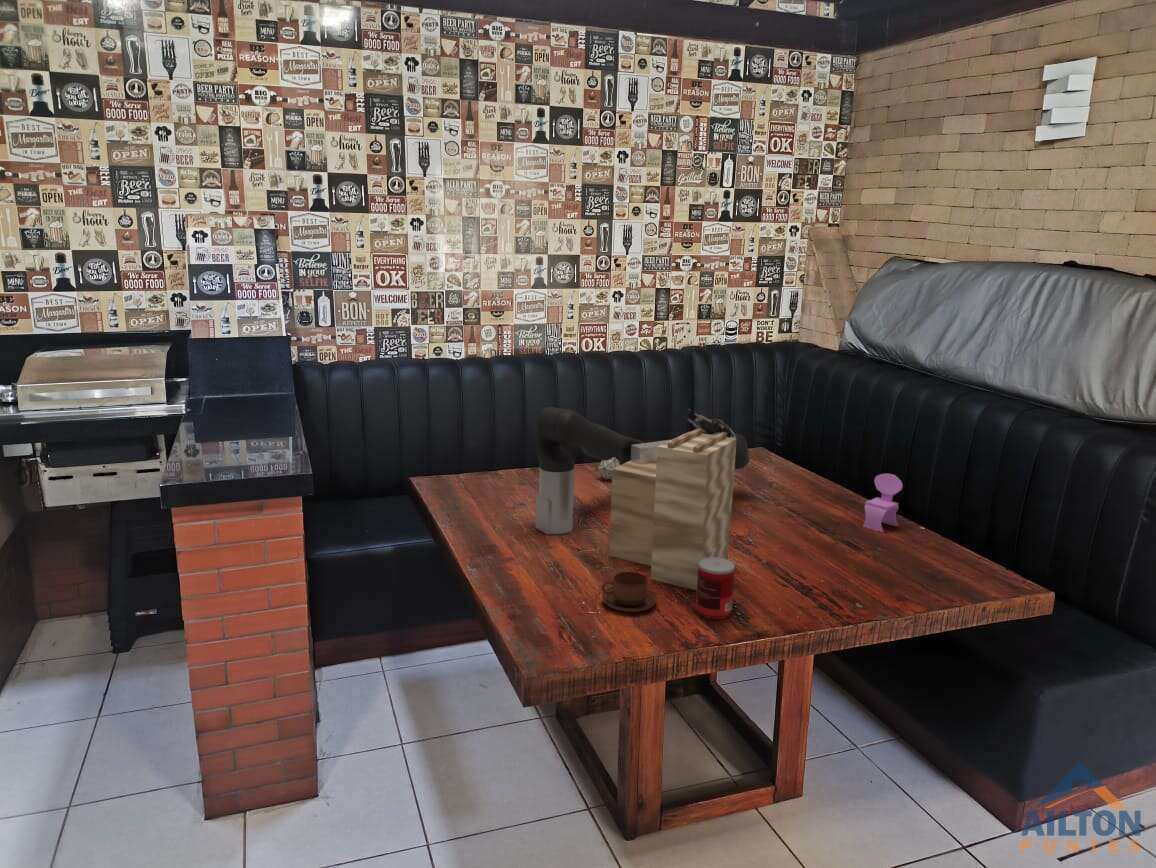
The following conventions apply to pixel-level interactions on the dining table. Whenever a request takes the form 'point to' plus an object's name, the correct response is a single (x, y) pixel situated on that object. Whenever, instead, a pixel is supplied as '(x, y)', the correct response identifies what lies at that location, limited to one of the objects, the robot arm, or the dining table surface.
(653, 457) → the bar
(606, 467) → the game die
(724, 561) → the canned food
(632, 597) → the cup and saucer
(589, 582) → the dining table surface
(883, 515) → the toy chair
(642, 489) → the stand
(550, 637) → the dining table surface
